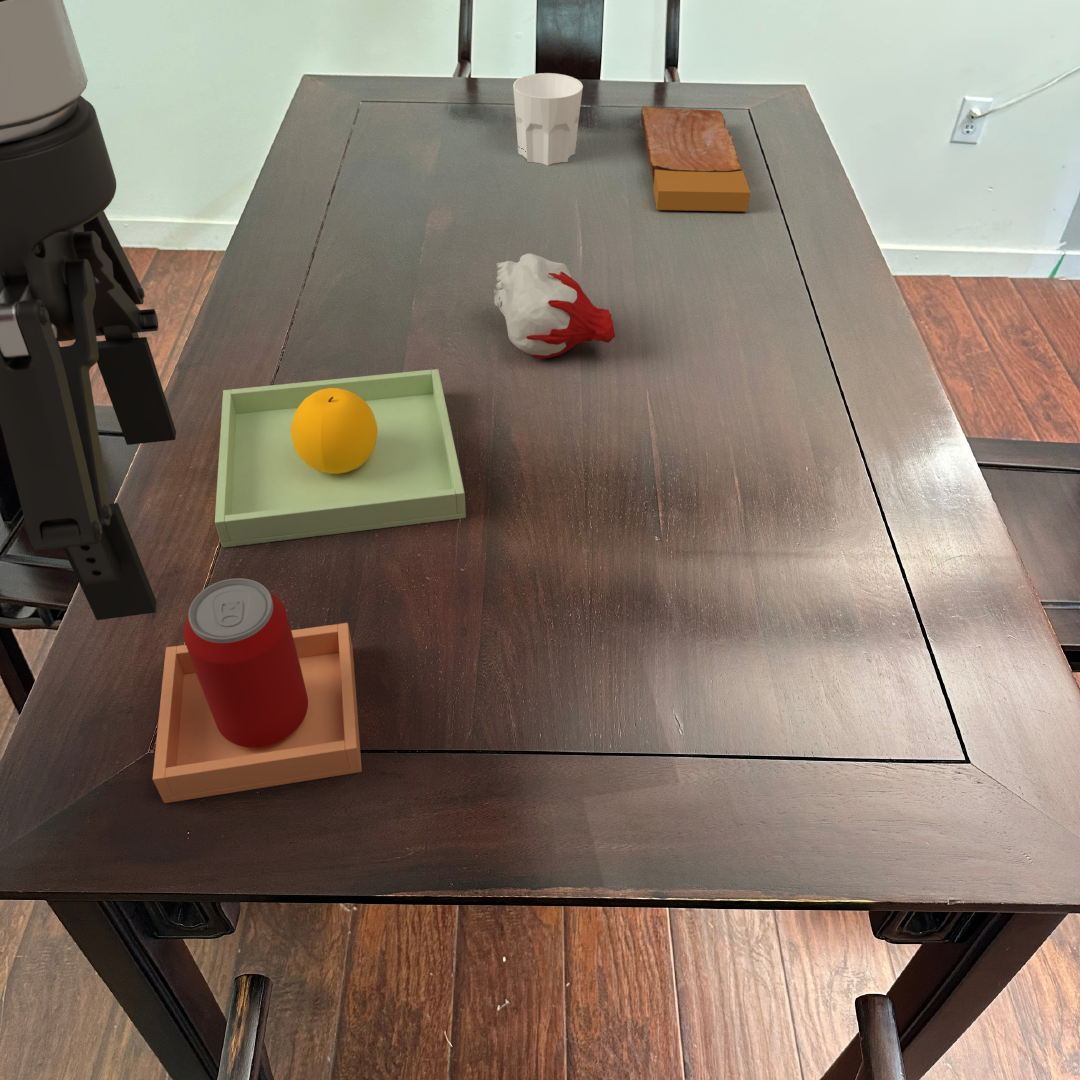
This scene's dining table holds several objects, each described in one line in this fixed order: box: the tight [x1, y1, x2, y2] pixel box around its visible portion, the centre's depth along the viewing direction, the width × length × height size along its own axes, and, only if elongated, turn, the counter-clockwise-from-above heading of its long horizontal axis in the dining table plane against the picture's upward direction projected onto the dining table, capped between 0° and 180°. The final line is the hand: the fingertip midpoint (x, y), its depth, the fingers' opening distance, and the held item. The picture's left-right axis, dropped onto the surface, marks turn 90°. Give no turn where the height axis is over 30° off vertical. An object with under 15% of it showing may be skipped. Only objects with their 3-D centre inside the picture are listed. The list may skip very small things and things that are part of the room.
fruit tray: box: [214, 368, 467, 549], centre depth 92 cm, size 22×20×3 cm
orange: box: [291, 388, 378, 474], centre depth 90 cm, size 8×8×8 cm
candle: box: [493, 252, 616, 359], centre depth 106 cm, size 9×11×15 cm
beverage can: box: [183, 577, 308, 748], centre depth 67 cm, size 7×7×12 cm
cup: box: [512, 72, 584, 167], centre depth 142 cm, size 10×10×10 cm
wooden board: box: [640, 106, 751, 212], centre depth 142 cm, size 13×30×3 cm, turn 0°
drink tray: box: [152, 622, 363, 804], centre depth 71 cm, size 14×12×3 cm
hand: (140, 517), depth 52 cm, fingers open, 13 cm apart
